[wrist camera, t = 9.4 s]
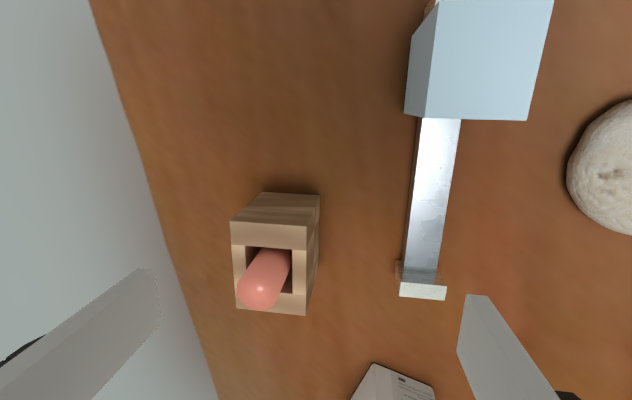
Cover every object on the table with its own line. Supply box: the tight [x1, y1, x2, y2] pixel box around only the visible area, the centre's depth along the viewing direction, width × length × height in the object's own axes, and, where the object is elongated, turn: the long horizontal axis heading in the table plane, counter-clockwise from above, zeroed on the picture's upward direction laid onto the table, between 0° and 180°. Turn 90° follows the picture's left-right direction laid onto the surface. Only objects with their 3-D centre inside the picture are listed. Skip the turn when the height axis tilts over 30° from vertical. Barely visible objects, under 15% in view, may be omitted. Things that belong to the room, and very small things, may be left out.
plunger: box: [236, 247, 292, 311], centre depth 25 cm, size 3×3×8 cm
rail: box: [394, 0, 461, 301], centre depth 25 cm, size 24×4×4 cm, turn 179°
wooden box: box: [230, 192, 320, 316], centre depth 27 cm, size 8×6×8 cm
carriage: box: [404, 0, 554, 121], centre depth 21 cm, size 6×6×9 cm
